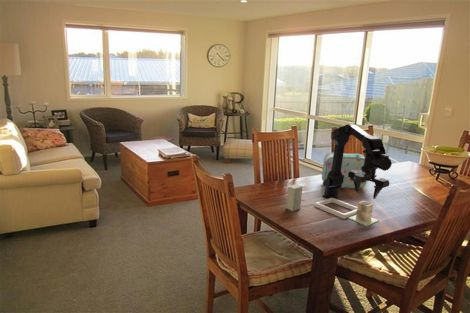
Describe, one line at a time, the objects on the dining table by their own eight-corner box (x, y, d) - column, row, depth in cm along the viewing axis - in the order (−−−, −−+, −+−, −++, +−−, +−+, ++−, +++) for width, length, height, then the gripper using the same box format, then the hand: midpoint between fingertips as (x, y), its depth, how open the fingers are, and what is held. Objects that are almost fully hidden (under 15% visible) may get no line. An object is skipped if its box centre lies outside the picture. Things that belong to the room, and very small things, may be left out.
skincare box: (294, 206, 186) (296, 183, 183) (300, 208, 182) (303, 186, 179) (285, 208, 182) (287, 185, 179) (292, 211, 179) (294, 188, 176)
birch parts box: (355, 218, 173) (358, 202, 171) (361, 215, 176) (364, 200, 174) (365, 221, 169) (367, 205, 167) (371, 219, 172) (373, 203, 170)
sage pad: (348, 218, 173) (348, 217, 173) (360, 213, 179) (360, 213, 179) (366, 226, 166) (366, 225, 165) (378, 221, 172) (378, 220, 171)
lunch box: (362, 184, 225) (367, 151, 220) (368, 190, 215) (373, 155, 210) (319, 182, 225) (323, 149, 220) (323, 188, 215) (327, 153, 210)
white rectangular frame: (314, 206, 186) (314, 202, 186) (331, 200, 195) (332, 197, 195) (344, 218, 172) (344, 215, 172) (361, 212, 181) (362, 208, 181)
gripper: (343, 161, 170) (338, 192, 174) (378, 172, 156) (373, 205, 160) (356, 158, 176) (352, 188, 180) (392, 168, 162) (387, 200, 166)
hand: (365, 195), depth 172 cm, fingers open, 9 cm apart
